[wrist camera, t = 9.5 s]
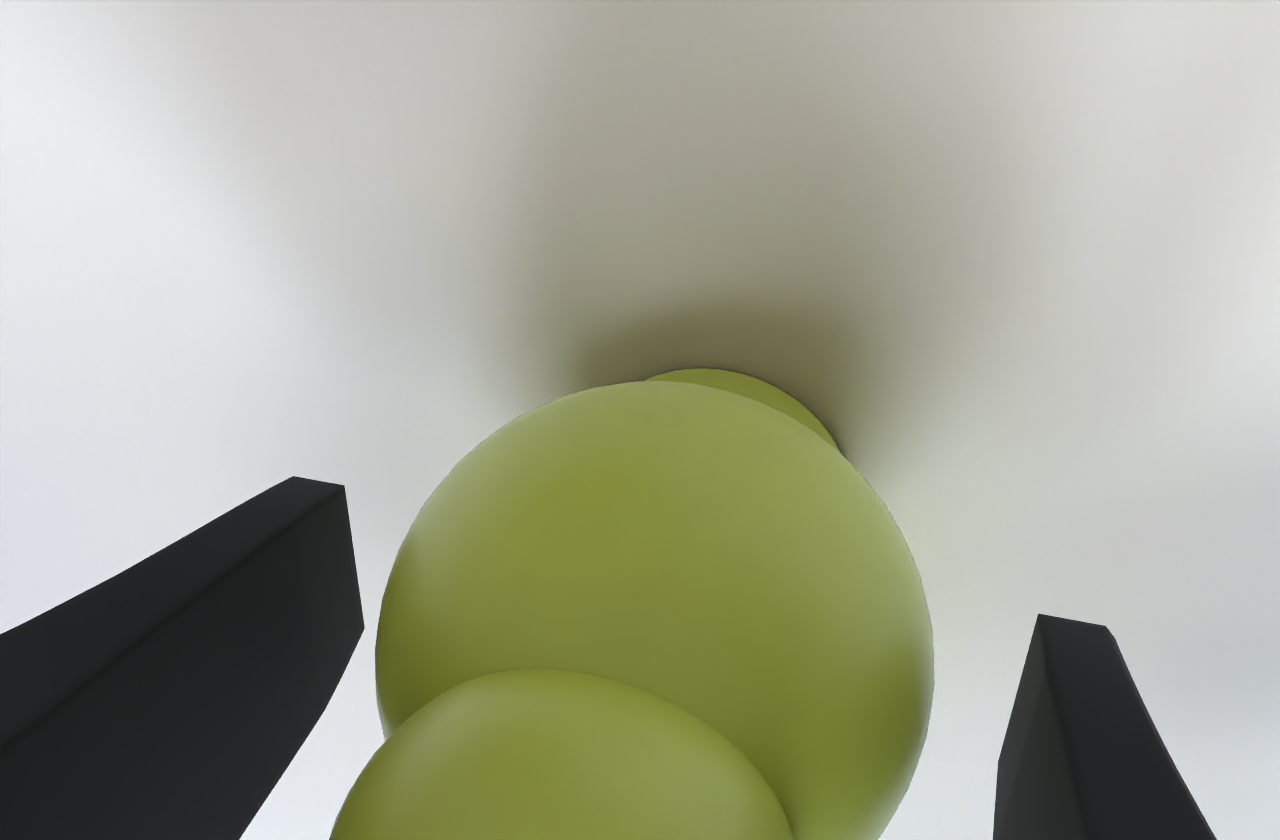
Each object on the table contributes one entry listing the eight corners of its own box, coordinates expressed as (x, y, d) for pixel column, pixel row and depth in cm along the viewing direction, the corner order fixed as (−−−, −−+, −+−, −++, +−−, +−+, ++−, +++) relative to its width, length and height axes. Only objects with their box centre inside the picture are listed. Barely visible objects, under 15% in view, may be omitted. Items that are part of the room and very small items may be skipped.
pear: (512, 609, 16) (92, 1397, 9) (494, 246, 13) (-157, 974, 6) (912, 690, 15) (811, 1669, 8) (989, 313, 12) (943, 1313, 5)
